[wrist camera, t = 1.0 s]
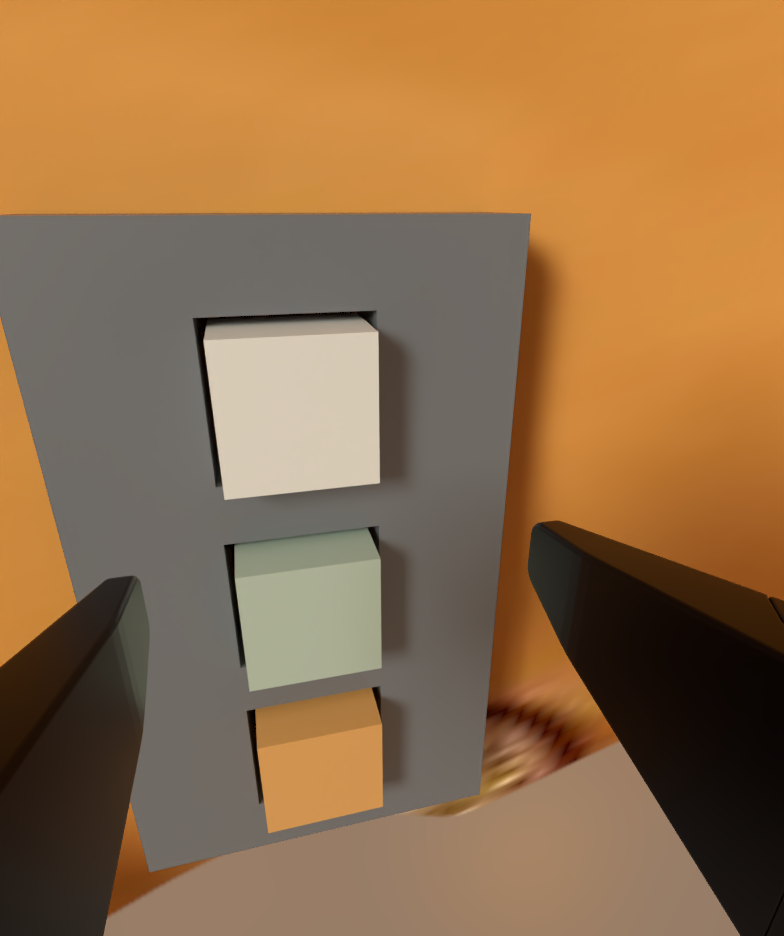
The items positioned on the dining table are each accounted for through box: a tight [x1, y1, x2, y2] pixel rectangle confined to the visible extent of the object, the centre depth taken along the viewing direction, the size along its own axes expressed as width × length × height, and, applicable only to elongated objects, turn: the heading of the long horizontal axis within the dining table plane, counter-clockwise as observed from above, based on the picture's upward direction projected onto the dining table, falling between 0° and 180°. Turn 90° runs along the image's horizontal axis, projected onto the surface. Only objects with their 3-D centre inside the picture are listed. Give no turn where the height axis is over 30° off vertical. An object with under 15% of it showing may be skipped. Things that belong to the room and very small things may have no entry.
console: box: [0, 212, 531, 872], centre depth 21 cm, size 14×24×3 cm, turn 0°
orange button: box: [255, 688, 383, 833], centre depth 23 cm, size 4×4×3 cm
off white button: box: [204, 313, 380, 500], centre depth 17 cm, size 4×4×3 cm
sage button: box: [234, 527, 382, 692], centre depth 20 cm, size 4×4×3 cm
